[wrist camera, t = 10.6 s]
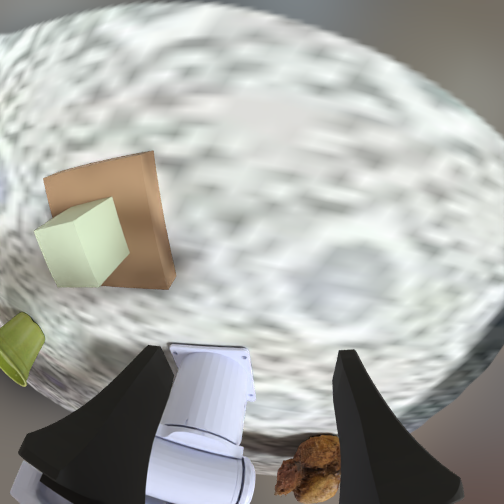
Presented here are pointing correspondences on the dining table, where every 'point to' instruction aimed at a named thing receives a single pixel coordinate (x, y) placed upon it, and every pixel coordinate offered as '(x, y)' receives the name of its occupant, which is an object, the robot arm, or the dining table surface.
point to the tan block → (123, 214)
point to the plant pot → (19, 347)
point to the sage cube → (83, 244)
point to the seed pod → (312, 470)
